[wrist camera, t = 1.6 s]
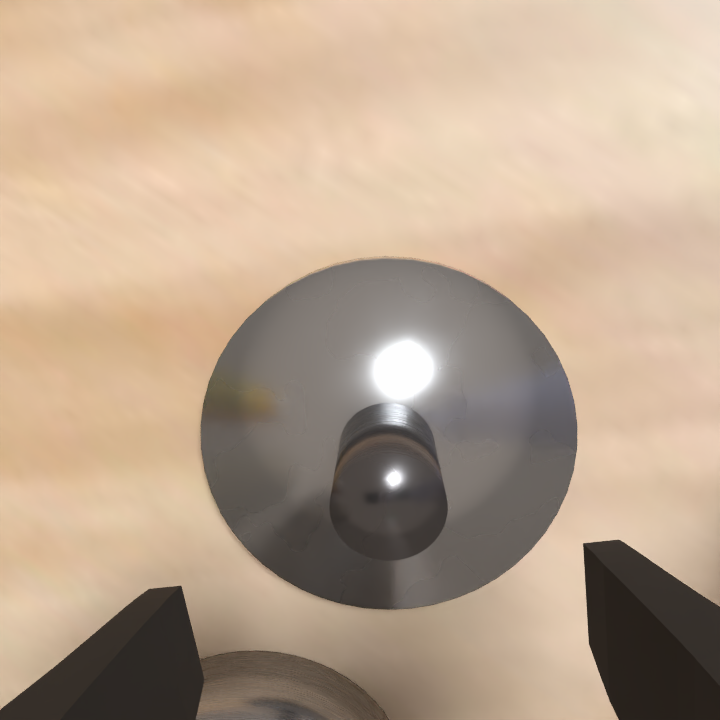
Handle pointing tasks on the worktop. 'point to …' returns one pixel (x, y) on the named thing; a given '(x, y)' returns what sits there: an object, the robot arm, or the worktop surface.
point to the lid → (389, 433)
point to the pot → (279, 690)
